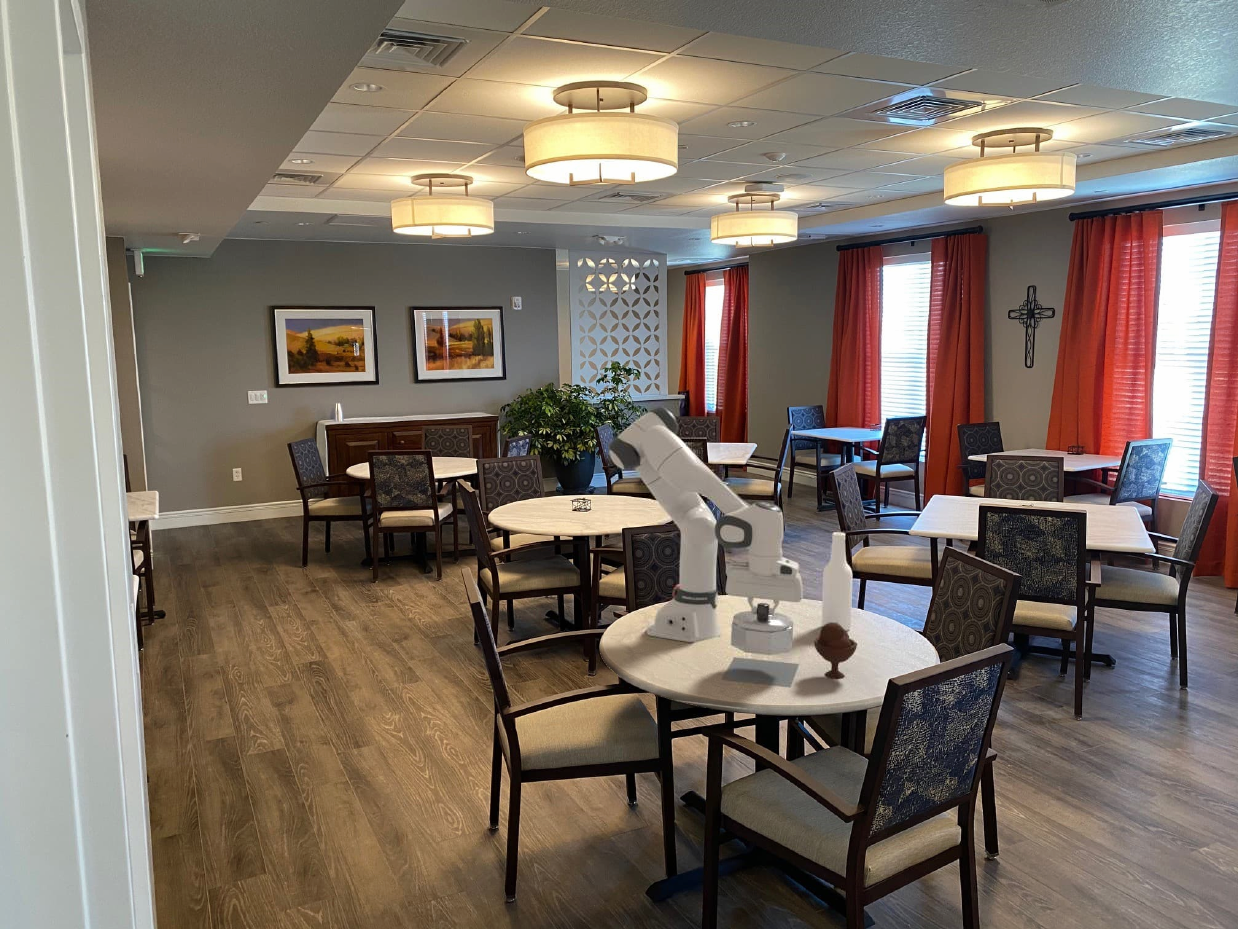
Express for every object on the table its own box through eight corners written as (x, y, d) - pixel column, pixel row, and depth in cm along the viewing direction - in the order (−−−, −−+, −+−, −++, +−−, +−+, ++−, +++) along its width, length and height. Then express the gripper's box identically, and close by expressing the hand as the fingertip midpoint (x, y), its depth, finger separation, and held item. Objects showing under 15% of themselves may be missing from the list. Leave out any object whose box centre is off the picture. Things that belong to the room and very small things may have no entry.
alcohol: (820, 623, 286) (822, 530, 283) (848, 624, 286) (851, 530, 282) (823, 632, 278) (825, 536, 274) (852, 632, 277) (855, 536, 273)
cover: (727, 650, 237) (729, 609, 236) (737, 632, 252) (738, 594, 251) (787, 657, 233) (789, 616, 232) (794, 639, 248) (796, 599, 246)
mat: (721, 681, 237) (721, 679, 237) (734, 658, 254) (734, 657, 254) (790, 688, 232) (790, 687, 232) (799, 665, 249) (799, 663, 249)
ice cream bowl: (857, 685, 234) (859, 629, 232) (813, 682, 236) (814, 627, 234) (855, 671, 244) (856, 617, 242) (812, 668, 246) (814, 615, 245)
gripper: (724, 563, 240) (722, 613, 241) (802, 570, 234) (800, 622, 236) (728, 557, 246) (726, 607, 247) (804, 564, 240) (802, 615, 242)
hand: (763, 614), depth 241 cm, fingers closed on cover, 3 cm apart
